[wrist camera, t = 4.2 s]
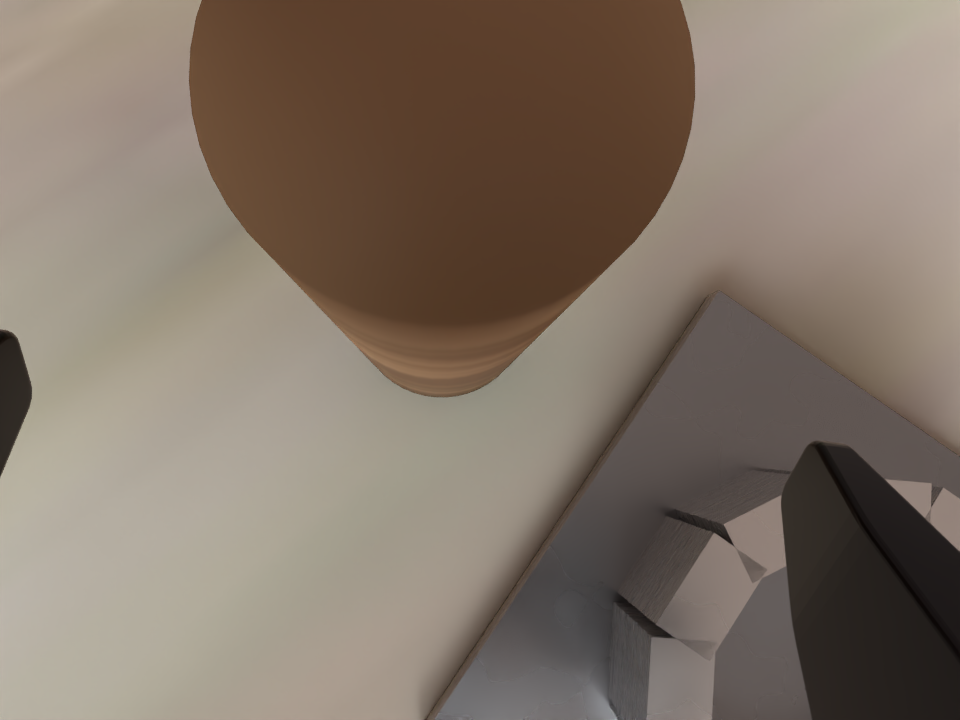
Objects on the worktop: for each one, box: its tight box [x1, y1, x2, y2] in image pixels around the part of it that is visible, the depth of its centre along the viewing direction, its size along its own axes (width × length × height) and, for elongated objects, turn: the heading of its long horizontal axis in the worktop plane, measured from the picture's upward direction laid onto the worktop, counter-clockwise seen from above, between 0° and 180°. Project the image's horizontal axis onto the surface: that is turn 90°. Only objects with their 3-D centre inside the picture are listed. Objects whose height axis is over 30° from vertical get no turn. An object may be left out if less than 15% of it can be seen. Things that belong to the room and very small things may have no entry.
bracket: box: [426, 290, 960, 720], centre depth 17 cm, size 12×12×4 cm
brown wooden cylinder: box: [189, 0, 695, 397], centre depth 13 cm, size 4×4×13 cm
